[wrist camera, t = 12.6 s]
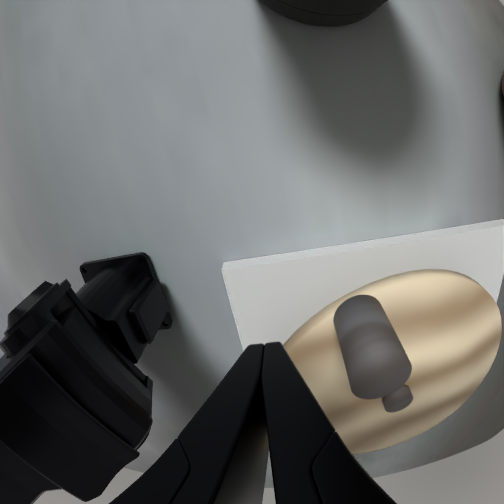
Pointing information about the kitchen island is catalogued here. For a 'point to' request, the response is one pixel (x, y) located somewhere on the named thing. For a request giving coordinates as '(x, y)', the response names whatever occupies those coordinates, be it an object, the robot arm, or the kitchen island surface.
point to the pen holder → (324, 10)
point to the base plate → (351, 274)
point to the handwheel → (397, 354)
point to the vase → (503, 84)
